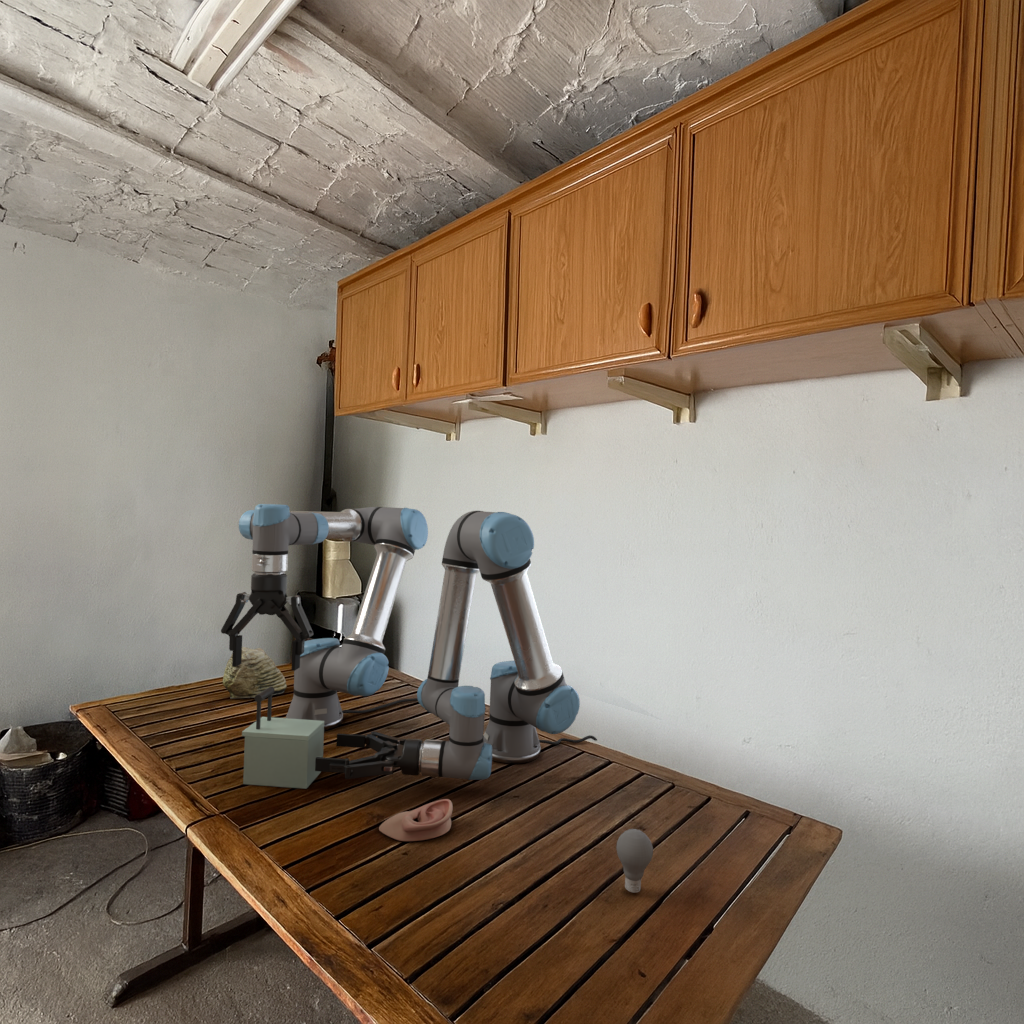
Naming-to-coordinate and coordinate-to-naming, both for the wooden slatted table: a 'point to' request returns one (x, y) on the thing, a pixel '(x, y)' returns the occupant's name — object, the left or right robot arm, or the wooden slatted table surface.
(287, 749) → the chest
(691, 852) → the wooden slatted table surface
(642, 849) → the light bulb
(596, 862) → the wooden slatted table surface
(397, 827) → the anatomical model
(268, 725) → the lid
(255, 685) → the fossil
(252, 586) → the left robot arm
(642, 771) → the wooden slatted table surface
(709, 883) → the wooden slatted table surface
